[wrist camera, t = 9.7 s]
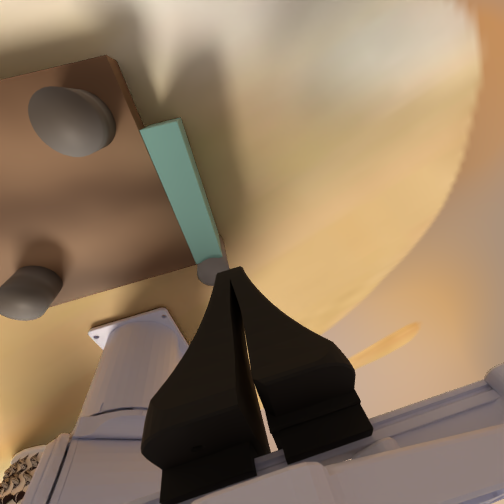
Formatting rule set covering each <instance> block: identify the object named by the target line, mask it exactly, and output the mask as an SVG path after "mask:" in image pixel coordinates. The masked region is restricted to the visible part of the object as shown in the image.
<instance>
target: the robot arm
mask: <svg viewBox="0 0 504 504" xmlns="http://www.w3.org/2000/svg"><path fill="white" fill-rule="evenodd" d="M163 315H166V316H163ZM244 330H245V331H244ZM88 335H89V336H90V337H91V338H92V339H93V340H94V341H95V342H96V343H97V344H98V345H99V346H100V347H101V348H102V349H103V352H102V355H101V358H100V360H99V363H98V366H97V369H96V371H95V374H94V377H93V379H92V382H91V385H90V388H89V390H88V393H87V396H86V398H85V401H84V404H83V406H82V409H81V412H80V415H79V417H78V420H77V423H76V425H75V427H74V429H73V431H72V433H71V434H69V433H61V434H59V436H58V437H57V438H55V439H54V440H52V441H51V442H50V443H48V444H47V446H46V448H45V450H44V452H43V454H42V457H41V459H40V461H39V463H38V466H37V468H36V470H35V472H34V475H33V477H32V479H31V481H30V484H29V486H28V488H27V490H26V493H25V495H24V497H23V500H22V502H21V504H492V503H494V502H497V501H499V500H501V499H504V363H501V364H498V365H496V366H494V367H493V368H491V369H490V370H489V371H488V372H487V373H486V375H485V377H484V380H481V381H478V382H475V383H472V384H469V385H466V386H463V387H460V388H457V389H454V390H452V391H449V392H446V393H443V394H440V395H437V396H434V397H431V398H428V399H425V400H423V401H420V402H417V403H414V404H411V405H408V406H405V407H402V408H400V409H397V410H394V411H391V412H388V413H385V414H382V415H379V416H376V417H373V418H370V419H368V417H367V416H366V414H365V412H364V410H363V408H362V407H361V405H360V402H361V401H360V399H359V397H358V395H357V393H356V391H355V390H354V385H355V370H354V368H353V366H352V365H351V363H350V362H349V360H348V359H347V358H346V356H345V355H344V354H343V353H342V352H341V350H340V349H339V348H338V347H337V346H336V345H335V344H334V343H333V342H332V341H330V340H328V339H326V338H324V337H322V336H320V335H318V334H316V333H314V332H312V331H311V330H309V329H307V328H306V327H304V326H302V325H301V324H299V323H298V322H296V321H295V320H293V319H292V318H290V317H289V316H287V315H286V314H285V313H283V312H282V311H281V310H279V309H278V308H277V307H276V306H274V305H273V304H272V303H271V302H270V301H269V300H268V299H267V298H266V297H265V296H264V295H263V294H262V293H261V292H260V291H259V290H258V289H257V288H256V287H255V286H254V284H253V283H252V282H251V281H250V279H249V278H248V277H247V275H246V273H245V272H244V270H243V267H240V266H239V267H236V268H233V269H229V270H226V271H222V272H219V273H217V274H216V278H215V283H214V287H213V291H212V295H211V298H210V301H209V304H208V307H207V309H206V312H205V315H204V317H203V320H202V322H201V324H200V326H199V328H198V330H197V333H196V335H195V336H194V338H193V340H192V342H191V344H190V345H188V343H187V342H186V340H185V338H184V337H183V335H182V333H181V332H180V330H179V329H178V327H177V325H176V324H175V322H174V320H173V319H172V317H171V315H170V314H169V312H168V310H167V309H166V308H158V309H155V310H151V311H148V312H145V313H141V314H138V315H135V316H131V317H128V318H125V319H121V320H118V321H115V322H111V323H108V324H105V325H101V326H98V327H95V328H91V329H90V330H89V332H88ZM96 335H97V336H96ZM245 335H246V338H245ZM246 341H247V346H246ZM247 347H248V353H249V359H250V364H249V359H248V353H247ZM250 366H251V368H250ZM254 384H255V385H254ZM255 387H256V389H257V392H258V394H259V397H260V399H261V402H262V404H263V407H264V409H265V412H266V417H267V421H268V426H269V430H270V433H271V434H272V436H273V438H274V440H275V443H276V445H277V448H278V451H275V452H272V453H271V451H270V447H269V444H268V439H267V435H266V431H265V427H264V423H263V419H262V415H261V411H260V406H259V402H258V398H257V394H256V390H255ZM351 458H352V459H351ZM348 459H351V460H348ZM346 460H348V461H346ZM343 461H344V462H343Z"/></svg>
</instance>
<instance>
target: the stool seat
mask: <svg viewBox="0 0 504 504" xmlns="http://www.w3.org/2000/svg"><path fill="white" fill-rule="evenodd" d="M143 128H144V126H143V123H142V121H141V118H140V116H139V114H138V111H137V109H136V106H135V104H134V102H133V99H132V97H131V94H130V92H129V90H128V87H127V85H126V82H125V80H124V78H123V75H122V73H121V70H120V68H119V66H118V63H117V61H116V60H114V59H112V58H110V57H109V56H107V55H104V56H100V57H96V58H91V59H87V60H83V61H78V62H74V63H70V64H66V65H61V66H57V67H53V68H48V69H44V70H40V71H36V72H31V73H27V74H23V75H19V76H14V77H10V78H6V79H1V80H0V314H1V315H3V316H5V317H8V318H11V319H15V320H24V321H26V320H34V319H37V318H39V317H41V316H42V315H43V314H44V313H45V312H46V310H47V309H48V307H52V306H55V305H59V304H62V303H65V302H69V301H72V300H76V299H79V298H83V297H86V296H89V295H93V294H96V293H100V292H103V291H107V290H110V289H113V288H117V287H120V286H124V285H127V284H131V283H134V282H137V281H141V280H144V279H148V278H151V277H155V276H158V275H161V274H165V273H168V272H172V271H175V270H179V269H182V268H185V267H189V266H192V265H196V262H195V260H194V258H193V255H192V253H191V250H190V248H189V246H188V243H187V241H186V239H185V236H184V234H183V232H182V229H181V227H180V225H179V222H178V220H177V218H176V215H175V213H174V211H173V208H172V206H171V203H170V201H169V199H168V196H167V194H166V192H165V189H164V187H163V185H162V182H161V180H160V178H159V175H158V173H157V171H156V168H155V166H154V163H153V161H152V159H151V156H150V154H149V152H148V149H147V147H146V145H145V142H144V140H143V138H142V135H141V133H140V131H139V130H141V129H143Z"/></svg>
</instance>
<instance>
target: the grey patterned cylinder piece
mask: <svg viewBox="0 0 504 504" xmlns="http://www.w3.org/2000/svg"><path fill="white" fill-rule="evenodd" d="M46 446H47V445H38V446H34V447H30V448H26V449H24V450H22V451H20V452H18V453H16V454H15V456H14V457H13V458H12V460H11V466H10V468H8V469H7V470H6V471H5V472H4V474H5V475H4V477H3V481H2V483H1V484H0V504H21V502H22V500H23V497H24V495H25V493H26V490H27V488H28V486H29V484H30V481H31V479H32V477H33V475H34V472H35V470H36V468H37V466H38V463H39V461H40V459H41V457H42V454H43V452H44V450H45V448H46Z"/></svg>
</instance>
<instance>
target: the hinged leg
mask: <svg viewBox="0 0 504 504" xmlns="http://www.w3.org/2000/svg"><path fill="white" fill-rule="evenodd" d="M139 131H140V133H141V135H142V138H143V140H144V142H145V145H146V147H147V149H148V152H149V154H150V156H151V159H152V161H153V163H154V166H155V168H156V171H157V173H158V175H159V178H160V180H161V182H162V185H163V187H164V189H165V192H166V194H167V196H168V199H169V201H170V203H171V206H172V208H173V211H174V213H175V215H176V218H177V220H178V222H179V225H180V227H181V229H182V232H183V234H184V236H185V239H186V241H187V243H188V246H189V248H190V250H191V253H192V255H193V258H194V260H195V262H196V264H197V275H198V278H199V280H200V281H201V282H202V283H204V284H206V285H210V286H214V283H215V278H216V274H217V273H219V272H222V271H226V270H229V265H228V261H227V256H226V251H225V246H224V242H223V239H222V237H221V236H220V235H219V234H218V230H217V227H216V224H215V221H214V218H213V215H212V212H211V209H210V206H209V203H208V200H207V197H206V193H205V190H204V187H203V184H202V181H201V178H200V175H199V172H198V169H197V166H196V163H195V160H194V157H193V154H192V151H191V147H190V144H189V141H188V138H187V135H186V132H185V129H184V126H183V123H182V120H181V117H180V118H176V119H172V120H168V121H164V122H160V123H156V124H152V125H150V126H148V127H145V128H143V129H141V130H139Z"/></svg>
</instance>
